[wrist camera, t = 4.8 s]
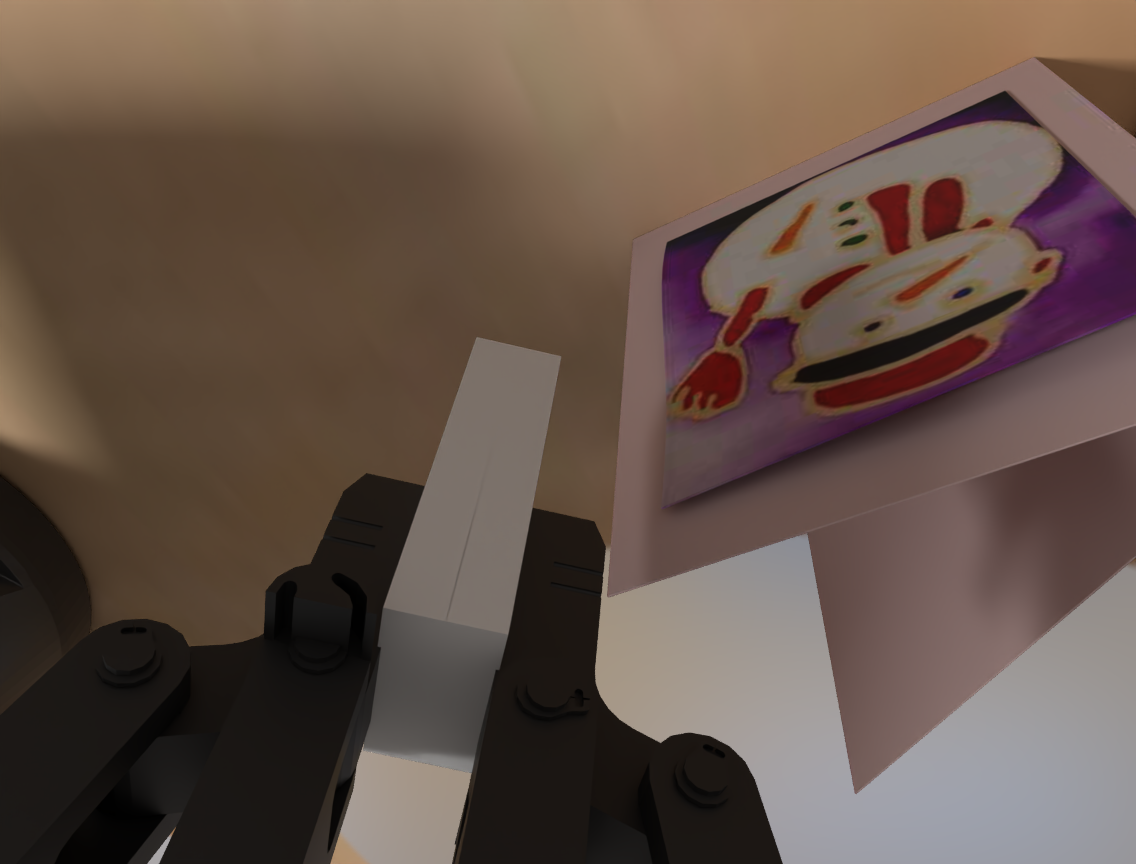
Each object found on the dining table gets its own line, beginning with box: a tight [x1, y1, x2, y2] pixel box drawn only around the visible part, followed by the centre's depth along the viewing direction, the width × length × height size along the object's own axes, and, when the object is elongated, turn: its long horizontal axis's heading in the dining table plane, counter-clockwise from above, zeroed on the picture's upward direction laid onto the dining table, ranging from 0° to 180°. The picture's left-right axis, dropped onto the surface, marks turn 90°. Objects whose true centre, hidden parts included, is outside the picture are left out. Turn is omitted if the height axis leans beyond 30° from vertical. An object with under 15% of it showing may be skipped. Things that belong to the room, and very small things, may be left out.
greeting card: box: [607, 57, 1136, 794], centre depth 22 cm, size 11×7×15 cm, turn 118°
